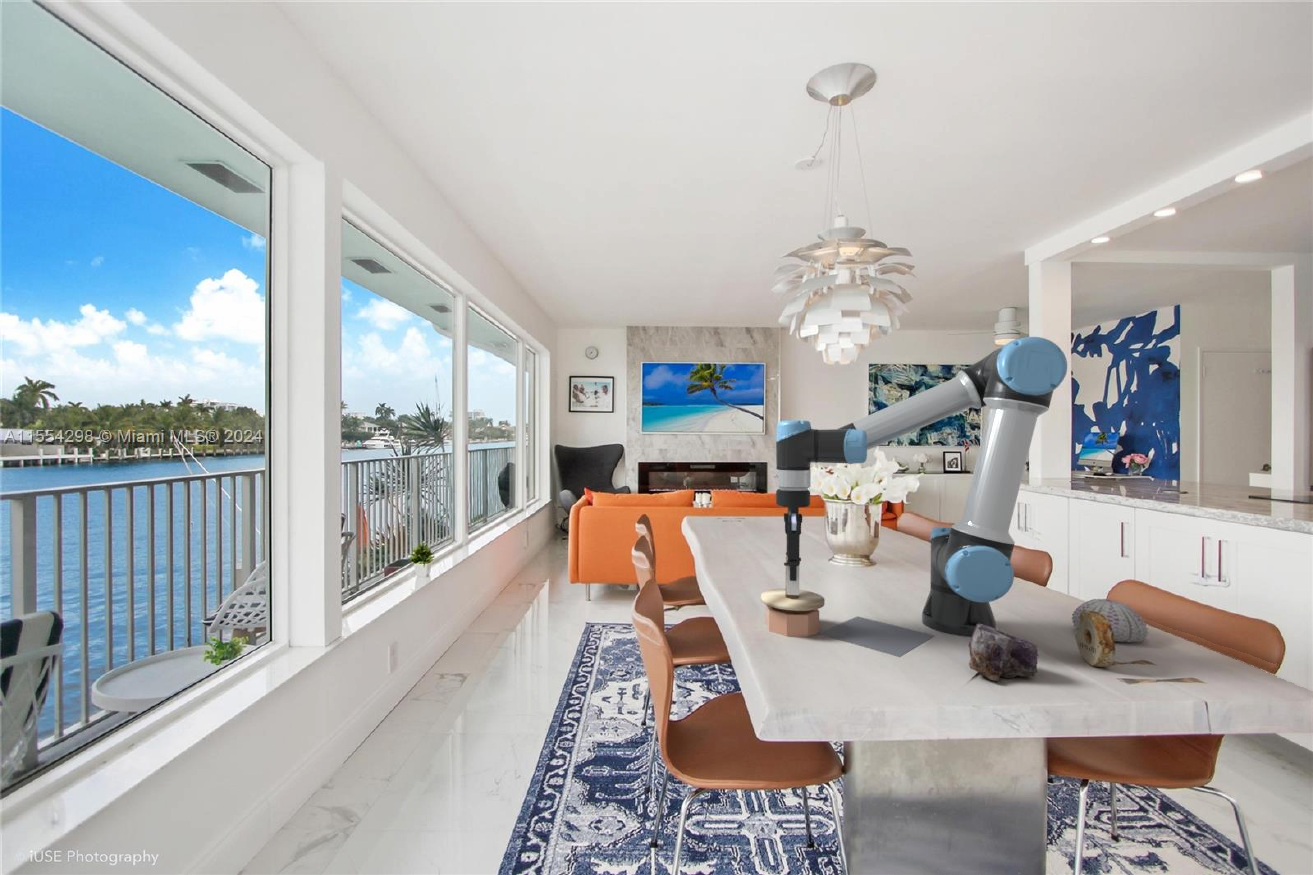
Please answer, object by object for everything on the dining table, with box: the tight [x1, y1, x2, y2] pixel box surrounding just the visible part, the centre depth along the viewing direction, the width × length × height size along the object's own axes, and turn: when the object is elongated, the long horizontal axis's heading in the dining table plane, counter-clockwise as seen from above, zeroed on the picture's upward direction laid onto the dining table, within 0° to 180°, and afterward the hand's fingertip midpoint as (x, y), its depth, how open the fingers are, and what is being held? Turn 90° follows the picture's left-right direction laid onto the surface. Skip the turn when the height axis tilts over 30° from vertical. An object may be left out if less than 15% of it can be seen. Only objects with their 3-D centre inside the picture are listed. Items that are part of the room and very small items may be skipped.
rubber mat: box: [817, 616, 936, 658], centre depth 125 cm, size 18×18×1 cm
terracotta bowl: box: [765, 604, 820, 638], centre depth 129 cm, size 11×11×5 cm
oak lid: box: [760, 556, 825, 611], centre depth 129 cm, size 14×14×10 cm
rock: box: [968, 624, 1039, 682], centre depth 106 cm, size 12×9×10 cm
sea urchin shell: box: [1071, 598, 1149, 643], centre depth 127 cm, size 13×14×8 cm
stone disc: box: [1074, 611, 1116, 668], centre depth 111 cm, size 10×4×10 cm, turn 163°
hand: (792, 592), depth 129 cm, fingers closed on oak lid, 3 cm apart
